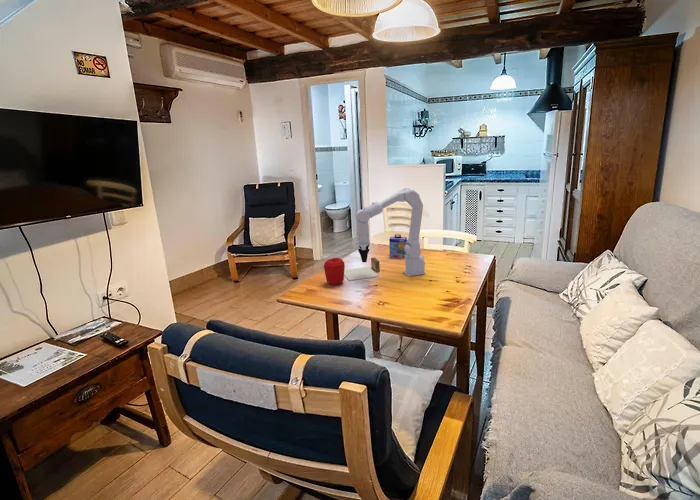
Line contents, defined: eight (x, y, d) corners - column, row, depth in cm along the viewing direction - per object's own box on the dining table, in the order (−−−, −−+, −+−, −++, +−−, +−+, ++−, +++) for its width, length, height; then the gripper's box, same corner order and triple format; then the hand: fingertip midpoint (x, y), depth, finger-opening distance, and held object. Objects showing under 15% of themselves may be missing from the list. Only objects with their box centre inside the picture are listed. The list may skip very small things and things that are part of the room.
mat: (369, 267, 214) (369, 266, 214) (378, 276, 199) (378, 275, 199) (341, 271, 210) (341, 270, 210) (349, 281, 195) (349, 280, 195)
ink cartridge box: (389, 258, 228) (388, 234, 224) (390, 255, 233) (390, 232, 229) (406, 259, 225) (405, 235, 221) (407, 256, 230) (406, 232, 226)
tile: (374, 267, 214) (374, 257, 212) (379, 271, 206) (379, 261, 204) (371, 268, 213) (370, 257, 211) (376, 272, 206) (375, 261, 204)
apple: (331, 278, 200) (329, 253, 196) (349, 280, 195) (347, 255, 191) (321, 285, 191) (319, 259, 187) (339, 288, 186) (338, 261, 182)
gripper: (355, 230, 199) (357, 255, 203) (354, 237, 185) (356, 264, 189) (369, 230, 198) (370, 255, 202) (369, 237, 185) (370, 264, 188)
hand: (364, 259), depth 195 cm, fingers open, 7 cm apart
